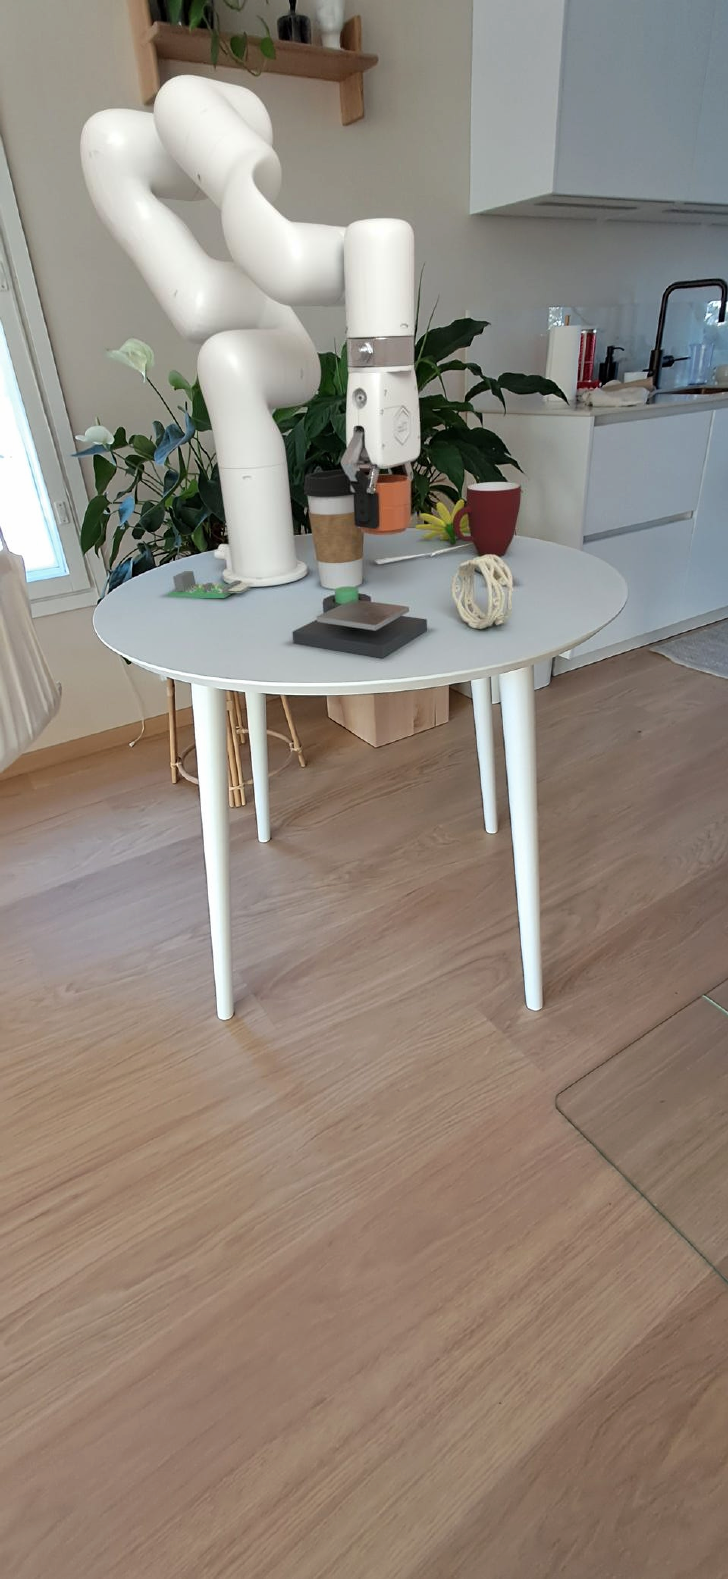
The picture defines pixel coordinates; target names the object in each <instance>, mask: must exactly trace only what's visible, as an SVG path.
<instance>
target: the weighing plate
mask: <svg viewBox="0 0 728 1579" xmlns="http://www.w3.org/2000/svg"><path fill="white" fill-rule="evenodd" d="M409 612H410V607H409V606H406V605H399V604H392V603H383V602H378V601H377V602H375V601H371V602H369V601H361V600H353V599H352V600H350V601H348V602H346V603H344V604H342V605H340V606H338V607H336V608H334V609H332V610H330V611H328V612H326V613H322V614H320V615H318V616H316V620H317V622H322V623H328V624H335V625H342V626H348V627H355V628H362V629H368V630H375V631H376V630H378V629H379V628H381V627H383V626H385V625H386V624H388V623H390V622H392V621H393V620H395V619H397V618H399V617H400V616H405V615H406V614H407V613H409Z"/></svg>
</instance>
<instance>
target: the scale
mask: <svg viewBox="0 0 728 1579" xmlns="http://www.w3.org/2000/svg"><path fill="white" fill-rule="evenodd" d="M358 598H359V600H361V601H369V602H372V596H370V595H368V594H366V593H361V592H360V593H359V592H358ZM340 605H342V604H340V603H335V594H331V595H329V596H327V597H324V598H323V601H322V612H323V613H326V612H328V611H330V610H332V609H334V608H336V607H338V606H340ZM323 613H322V614H323ZM427 631H428V620H427V618H421V617H415V616H414V617H412V616H406V615H402V616H400V617H399V618H397V619H395V620H393V621H392V622H390V623H388V624H386V625H385V626H383V627H381V628H379V629H378V630H376V631H375V630H368V629H362V628H355V627H348V626H342V625H335V624H328V623H322V622H317V619H315V620H312V621H311V622H309V623H307V624H305V625H303V626H301V627H298V628H297V629H295V630H292V642H293V643H292V644H296V645H302V646H310V647H315V648H321V649H324V650H325V649H326V650H332V651H338V652H343V653H349V654H354V655H355V654H356V655H360V656H361V655H362V656H367V657H373V658H379V659H384V658H386V657H387V656H389V655H391V654H392V653H394V652H395V651H397V650H399V649H400V648H402V647H404V646H405V645H407V644H408V643H410V642H412V641H413V640H415V639H416V638H418V637H419V636H421V635H422V634H424V633H426V632H427Z"/></svg>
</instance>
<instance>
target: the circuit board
mask: <svg viewBox="0 0 728 1579" xmlns="http://www.w3.org/2000/svg"><path fill="white" fill-rule="evenodd" d="M172 579H173V583H174V588H175V590H173V591H171V592H170V593H167V597H174V598H186V599H187V598H188V599H189V598H190V599H226V598H227V597H229V596H231V595H232V594H242V593H243V592H244V591H247V590H249V588H254V587H253V586H250V585H252V584H253V583H241V581H234V582H232V583H230V584H228V583H227V584H218V583H217V584H214V583H213V582H207V583H205V584H202V583H201V584H197V583H196V579H195V573H194V570H184V571H182V572H180V573H178V574H176V575H174V576H172Z"/></svg>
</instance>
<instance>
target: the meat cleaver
mask: <svg viewBox="0 0 728 1579" xmlns="http://www.w3.org/2000/svg"><path fill="white" fill-rule="evenodd" d="M487 568H488V569H489V567H488V566H487ZM475 571H476V572H478V573H479V574H482V572H481V570H480V568H479V566H477V567H476V568H475ZM489 571H490V569H489ZM503 572H504V574H505V576H506V577H507V574H506V572H505V571H504V569H503ZM493 577H494V578H495V579H496V580H498V579H500V578H501V577H500V576H499V575H498V573H497V572H496V571H495V569H494V574H493ZM507 579H508V578H507ZM513 585H515V582H514V581H513ZM503 586H504V587H506V585H503ZM503 586H502V587H503Z"/></svg>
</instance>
